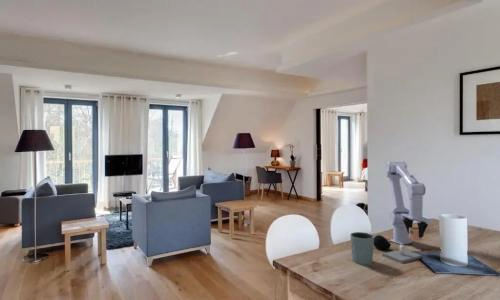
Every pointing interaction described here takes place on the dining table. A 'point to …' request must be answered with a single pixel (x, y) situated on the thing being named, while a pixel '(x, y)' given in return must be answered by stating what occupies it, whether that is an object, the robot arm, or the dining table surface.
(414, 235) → the collar
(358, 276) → the dining table surface
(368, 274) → the dining table surface
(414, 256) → the duct plate
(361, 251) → the green cup
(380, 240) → the light bulb
